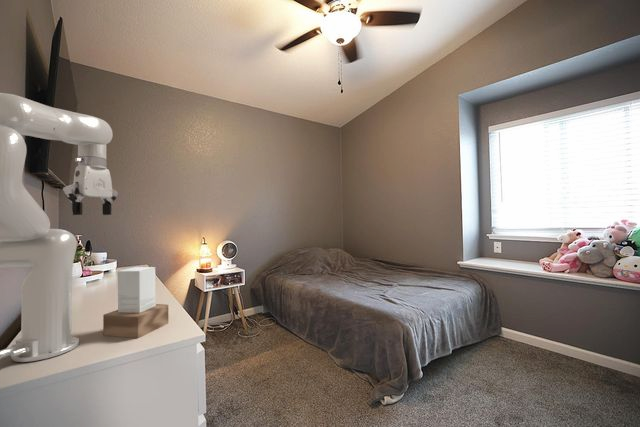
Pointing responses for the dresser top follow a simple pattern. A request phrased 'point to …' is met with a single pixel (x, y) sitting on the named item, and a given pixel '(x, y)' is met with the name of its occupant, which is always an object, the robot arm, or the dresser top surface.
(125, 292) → the supplement box
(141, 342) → the dresser top surface
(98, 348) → the dresser top surface
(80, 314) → the dresser top surface
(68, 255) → the robot arm
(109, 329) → the walnut block
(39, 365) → the dresser top surface
